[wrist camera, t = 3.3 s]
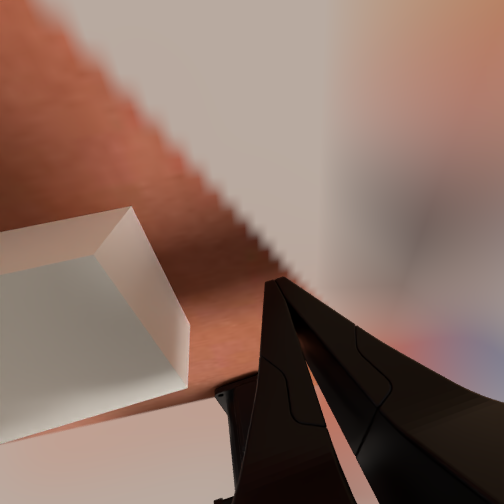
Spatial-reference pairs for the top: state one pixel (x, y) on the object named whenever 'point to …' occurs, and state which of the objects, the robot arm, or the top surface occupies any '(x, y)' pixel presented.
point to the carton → (84, 322)
